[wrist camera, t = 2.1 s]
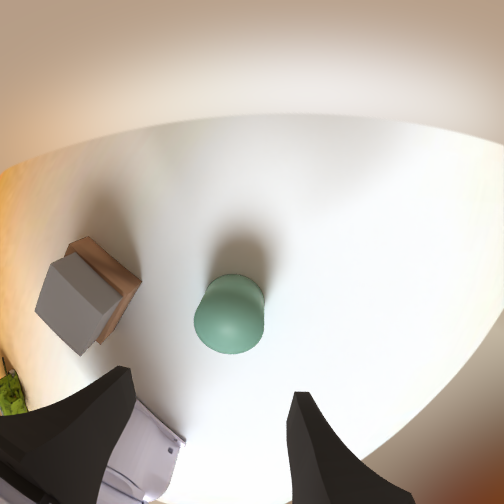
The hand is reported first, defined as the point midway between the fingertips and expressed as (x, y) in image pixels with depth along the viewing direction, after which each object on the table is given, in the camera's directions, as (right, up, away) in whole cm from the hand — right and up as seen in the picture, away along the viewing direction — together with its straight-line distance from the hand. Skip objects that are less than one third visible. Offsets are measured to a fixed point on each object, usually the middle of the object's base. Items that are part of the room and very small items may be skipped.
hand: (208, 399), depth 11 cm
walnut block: (-11, +4, +11) cm, 16 cm away
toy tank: (-32, -14, +16) cm, 38 cm away
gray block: (-11, +3, +8) cm, 14 cm away
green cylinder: (0, +3, +10) cm, 11 cm away
